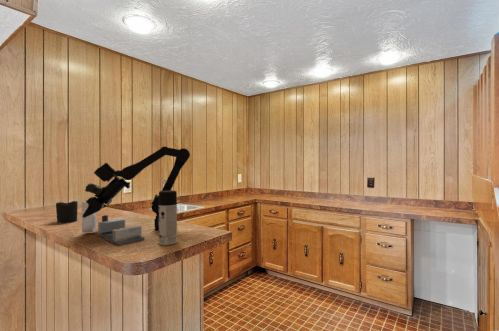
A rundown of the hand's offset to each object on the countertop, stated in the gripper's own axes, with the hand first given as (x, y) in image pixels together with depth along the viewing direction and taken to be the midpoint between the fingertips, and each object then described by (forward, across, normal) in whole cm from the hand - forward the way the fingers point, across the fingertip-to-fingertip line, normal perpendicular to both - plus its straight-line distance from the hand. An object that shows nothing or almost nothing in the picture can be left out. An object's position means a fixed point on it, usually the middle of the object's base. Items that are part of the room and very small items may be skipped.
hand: (85, 215), depth 115 cm
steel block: (+4, 0, +6) cm, 7 cm away
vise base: (-5, +9, +17) cm, 20 cm away
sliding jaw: (-1, -2, +11) cm, 11 cm away
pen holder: (+18, -30, -7) cm, 36 cm away
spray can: (-19, +23, +31) cm, 43 cm away
